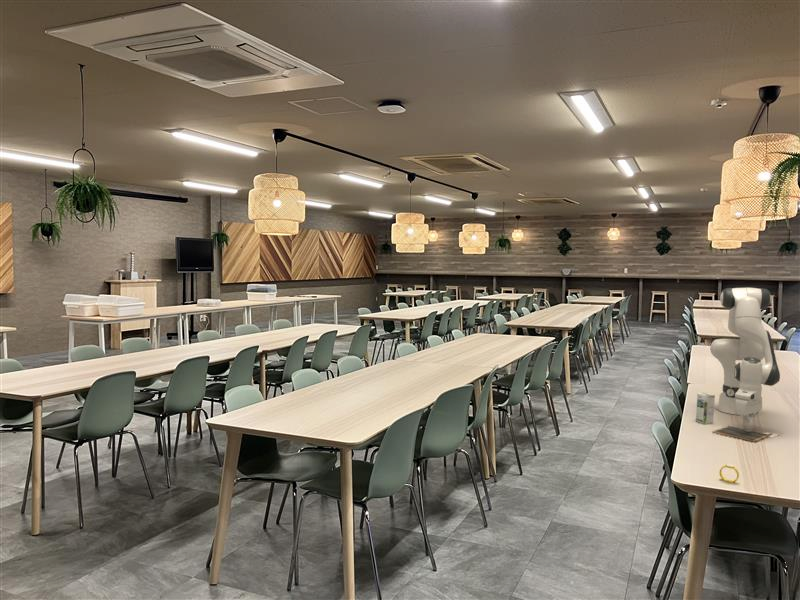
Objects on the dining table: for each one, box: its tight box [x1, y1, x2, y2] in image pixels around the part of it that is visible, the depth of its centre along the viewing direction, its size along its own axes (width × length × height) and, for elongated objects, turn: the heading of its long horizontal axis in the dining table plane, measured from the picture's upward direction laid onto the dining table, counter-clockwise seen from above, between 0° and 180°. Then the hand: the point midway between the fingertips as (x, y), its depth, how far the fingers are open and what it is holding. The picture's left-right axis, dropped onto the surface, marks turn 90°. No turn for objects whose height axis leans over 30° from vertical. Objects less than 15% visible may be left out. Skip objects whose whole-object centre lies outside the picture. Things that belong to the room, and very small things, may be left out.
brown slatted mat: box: [712, 425, 770, 444], centre depth 269 cm, size 17×18×1 cm
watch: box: [718, 463, 740, 483], centre depth 209 cm, size 6×3×6 cm, turn 50°
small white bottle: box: [743, 414, 754, 432], centre depth 270 cm, size 3×3×8 cm
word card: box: [763, 431, 779, 439], centre depth 269 cm, size 8×5×1 cm, turn 128°
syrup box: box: [695, 391, 716, 425], centre depth 289 cm, size 6×6×14 cm
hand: (748, 422), depth 270 cm, fingers closed on small white bottle, 3 cm apart
